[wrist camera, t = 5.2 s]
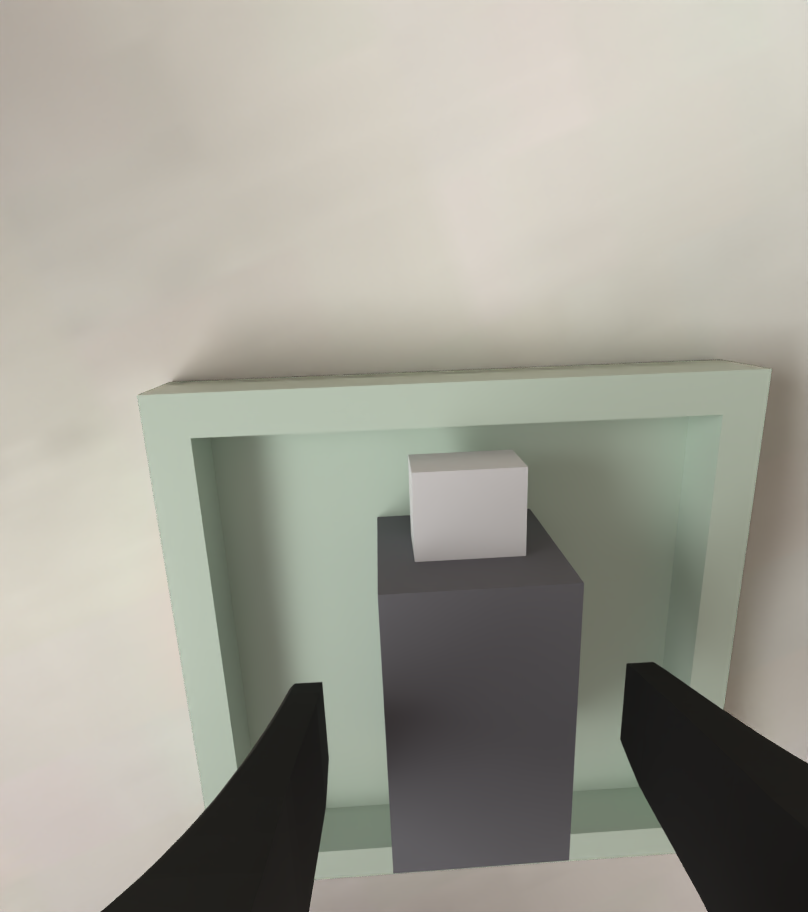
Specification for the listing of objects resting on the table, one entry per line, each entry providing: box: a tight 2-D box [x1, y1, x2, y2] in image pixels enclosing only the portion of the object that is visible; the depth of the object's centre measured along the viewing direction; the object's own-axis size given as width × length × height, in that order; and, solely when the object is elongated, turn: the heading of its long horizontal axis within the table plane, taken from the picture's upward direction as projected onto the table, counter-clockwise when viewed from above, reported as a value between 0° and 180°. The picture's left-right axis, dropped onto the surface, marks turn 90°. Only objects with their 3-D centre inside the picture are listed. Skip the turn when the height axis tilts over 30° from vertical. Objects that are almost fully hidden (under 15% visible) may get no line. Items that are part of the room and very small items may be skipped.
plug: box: [377, 450, 584, 874], centre depth 13 cm, size 9×4×4 cm, turn 2°
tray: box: [137, 360, 772, 880], centre depth 15 cm, size 14×14×2 cm
